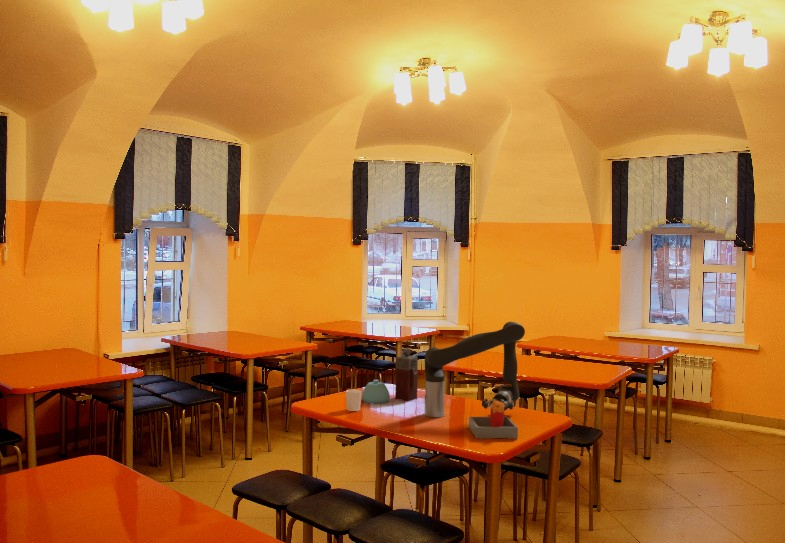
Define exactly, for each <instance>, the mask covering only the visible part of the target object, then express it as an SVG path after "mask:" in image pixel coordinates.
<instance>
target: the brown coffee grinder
mask: <svg viewBox="0 0 785 543" xmlns="http://www.w3.org/2000/svg"><path fill="white" fill-rule="evenodd" d="M418 360H419V359H418V356H417V355H416V356H415V355H411V348H409V347H405V348H404V349H403V354H402V355H399V356H398V355H397V356H396V357H395V389H394V390H395V396H394V400H397V399H398V400H399V401H405V402H411V401H414V400H416V399H418V384H419V383H418V381H419V380H418V379H419V378H418V376H419V374H418V370H419V369H418V365H419V364H418V363H419V361H418Z"/></svg>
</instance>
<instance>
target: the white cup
mask: <svg viewBox="0 0 785 543" xmlns="http://www.w3.org/2000/svg"><path fill="white" fill-rule="evenodd" d="M345 401H346V402H345V404H346V411H347V410H349V411H358V412H360V411H361V404H362V390H361V389H357V388H356V389H354V388H352V389H347V390H346V391H345ZM359 410H360V411H359ZM349 411H348V412H349Z"/></svg>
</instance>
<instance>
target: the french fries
mask: <svg viewBox="0 0 785 543" xmlns="http://www.w3.org/2000/svg"><path fill="white" fill-rule="evenodd" d="M504 407H505V405H504V403H503V402H499V401H495V400H494V401H493V403H492V404H491V408H490V416H489V417H490V427H503V420H504V417H505V411H504Z"/></svg>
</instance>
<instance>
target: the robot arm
mask: <svg viewBox="0 0 785 543" xmlns="http://www.w3.org/2000/svg"><path fill="white" fill-rule="evenodd" d="M525 333H526V330H525V327H524V326H523V325H522V324H520V323H518V322H515V321H507V322H505V323H504V324H503V326H502V328H501V329H499V330H495V331H487V332H481V333H477V334H474V335H470V336H468V337H465V338H464V339H462V340H460V341H458V342H457V343H456V344H453V345H450V346H447V347H444V348H439V347H430V348H429V349H427V350H426V352H425V354H424V374H425V394H424V415H425V417H429V418H442V417H444V415H445V414H444V413H445V374H444V366H446V365H449V364H451V363H453V362H455V361H458V360H461V359H465V358H468V357H471V356H475V355H478V354H481V353H483V352H484V353H485V351H489V350H492V349H494V348H496V347H499V346H502V345H503V368H502V380H503V381H505V382H507V383H508V384H509V383H510V385H511V386H510V385H500V386H499V388H498V390H497V393H496V394H495V395H494V396H493V398H492V399H488V398H484V399H483V400H481V407H483V408H484V409H485V410H486V409H488V408H490V409H491V404H492V403H493V401H494V400H495V401H499V402H503V403H504V405H505V407H504V412H505V411H507V410H511V411H512V410H513V409H514V407H515V402H517V401H518V400H519V398H520V390H519V385H518V359H517V352H516V344H517V342H518V341H520V340H522V339H523V338H524V336H525V335H526V334H525Z"/></svg>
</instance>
